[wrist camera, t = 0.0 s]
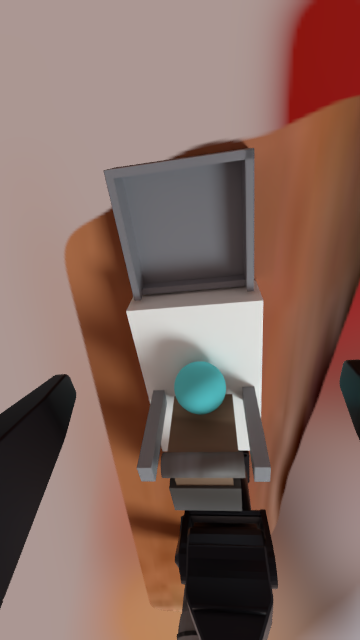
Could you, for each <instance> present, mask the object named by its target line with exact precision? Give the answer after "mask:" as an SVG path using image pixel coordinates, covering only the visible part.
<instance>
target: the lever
mask: <svg viewBox="0 0 360 640" xmlns="http://www.w3.org/2000/svg"><path fill="white" fill-rule="evenodd" d="M161 475H162V478H170V487H169V489H170V493H171V496H172V500H173V504H174V507H175V510H204V511H242V495H241V481H240V478H245V463H244V455H243V452H238V443H237V433H236V424H235V415H234V406H233V396H232V394H225V397H224V400H223V402H222V403H221V405H220V406H219V407H218V408H217V409H216V410H214V411H212V412H210V413H207V414H194V413H191V412H189V411H187V410H185V409H184V408H183V407H182V406H181V405H180V404H179V402H178V400H177V398H176V396H174V403H173V411H172V419H171V427H170V435H169V443H168V451H167V452H163V453H162V457H161Z"/></svg>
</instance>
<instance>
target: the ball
mask: <svg viewBox="0 0 360 640" xmlns="http://www.w3.org/2000/svg"><path fill="white" fill-rule="evenodd" d="M174 391H175V396H176V398H177V400H178V402H179V404H180V405H181V406H182V407H183V408H184V409H185V410H187V411H189V412H191V413H194V414H207V413H210V412H212V411H214V410H216V409H217V408H218V407H219V406H220V405H221V403H222V402H223V400H224V397H225V394H226V383H225V379H224V377H223V375H222V373H221V372H220V370H219V369H218V368H217V367H215V366H214V365H212V364H210V363H208V362H203V361H196V362H192V363H189V364H187V365H186V366H184V367H183V368H182V369H181V370H180V371H179V373H178V374H177V377H176V379H175V383H174Z"/></svg>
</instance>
